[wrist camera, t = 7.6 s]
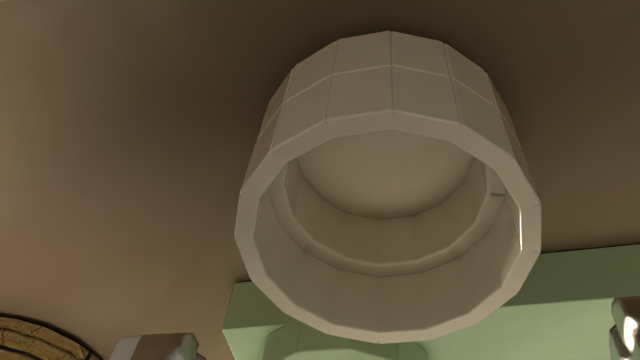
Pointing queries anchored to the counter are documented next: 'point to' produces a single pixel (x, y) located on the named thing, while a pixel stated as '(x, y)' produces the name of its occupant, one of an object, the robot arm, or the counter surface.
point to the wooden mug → (37, 343)
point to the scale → (477, 340)
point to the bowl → (388, 193)
